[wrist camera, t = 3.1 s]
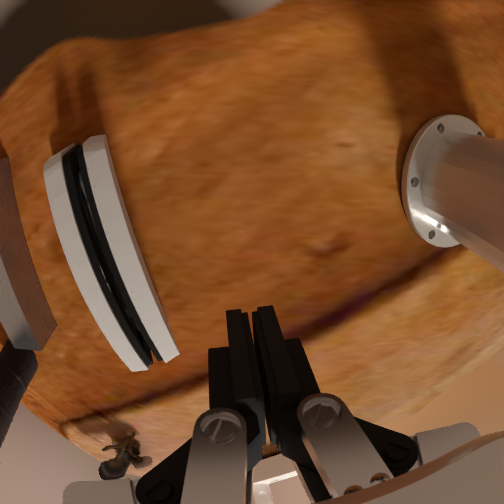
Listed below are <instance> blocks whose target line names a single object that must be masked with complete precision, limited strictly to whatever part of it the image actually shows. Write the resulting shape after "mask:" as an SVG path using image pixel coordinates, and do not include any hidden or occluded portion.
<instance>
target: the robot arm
mask: <svg viewBox="0 0 504 504" xmlns="http://www.w3.org/2000/svg"><path fill="white" fill-rule="evenodd" d="M401 188H402V200H403V206H404V210H405V213H406V216H407V219H408V221H409V223H410V224H411V226H412V228H413V229H414V231H415V232H416V233H417V234H418V235H419V236H420V237H421V238H423V239H424V240H425V241H427V242H428V243H430V244H432V245H435V246H438V247H452V246H455V245H458V244H460V243H461V244H462V245H464V246H465V247H467V248H468V249H470V250H471V251H473V252H474V253H476V254H477V255H479V256H480V257H482V258H483V259H485V260H486V261H487V262H489V263H490V264H492V265H493V266H494V267H496V268H497V269H499V270H500V271H501V272H503V273H504V140H499V139H495V138H490V137H486V136H485V134H484V132H483V131H482V130H481V129H480V128H479V126H478V125H477V124H476V123H474V122H473V121H472V120H470V119H469V118H466V117H464V116H461V115H454V114H445V115H440V116H437V117H434V118H432V119H431V120H430V121H428V122H427V123H425V124H424V125H423V126H422V128H421V129H420V130H419V131H418V132H417V134H416V135H415V137H414V139H413V140H412V142H411V144H410V146H409V149H408V151H407V154H406V157H405V161H404V165H403V170H402V181H401ZM226 319H227V330H228V341H229V347H220V348H209V349H208V367H209V405H210V410H207V411H206V412H204V413H203V414H201V415H200V416H199V418H198V419H197V420H196V423H195V425H194V430H193V436H192V438H191V439H189V440H188V441H187V442H186V443H184V444H183V445H182V446H181V447H180V448H178V449H177V450H176V451H175V452H173V453H172V454H171V455H170V456H168V457H167V458H166V459H165V460H163V461H162V462H161V463H159V464H158V465H157V466H156V467H154V468H153V469H152V470H150V471H149V472H148V473H146V474H145V475H144V476H143V477H142V478H141V479H136V480H130V479H129V478H125V479H115V480H102V481H79V482H73V483H71V484H69V485H68V486H67V487H66V488H65V490H64V492H63V504H252V494H253V468H254V467H255V466H256V465H257V463H258V462H259V461H260V460H261V459H262V446H264V445H266V431H265V418H266V423H267V428H268V433H269V438H270V442H271V444H277V447H278V451H281V452H282V455H283V456H285V457H287V458H289V459H291V460H292V463H293V466H294V468H295V470H296V472H297V474H298V476H299V479H300V481H301V483H302V485H303V487H304V489H305V491H306V493H307V496H308V497H309V500H310V502H311V504H504V431H500V432H494V433H491V434H487V435H484V436H482V437H480V434H479V432H478V430H477V428H476V427H475V426H473V425H472V424H470V423H458V424H454V425H451V426H447V427H442V428H438V429H434V430H429V431H424V432H420V433H416V434H415V435H414V436H410V437H409V436H406V435H404V434H401V433H398V432H395V431H392V430H389V429H387V428H384V427H381V426H378V425H375V424H372V423H370V422H367V421H364V420H362V419H359V418H356V417H354V416H353V415H352V413H351V412H350V410H349V409H348V407H347V406H346V404H345V403H344V402H343V401H342V400H341V399H340V398H338V397H337V396H335V395H332V394H328V393H321V392H320V390H319V387H318V385H317V382H316V379H315V377H314V374H313V372H312V369H311V367H310V364H309V361H308V359H307V356H306V354H305V351H304V349H303V346H302V343H301V341H300V339H299V338H292V339H285V340H284V338H283V335H282V332H281V329H280V326H279V323H278V320H277V317H276V314H275V311H274V308H273V306H272V305H271V306H263V307H257V311H254V312H252V322H253V336H254V344H253V339H252V334H251V329H250V323H249V318H248V313H247V312H246V313H241V309H236V310H227V311H226Z"/></svg>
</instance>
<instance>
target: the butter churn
mask: <svg viewBox="0 0 504 504" xmlns="http://www.w3.org/2000/svg"><path fill="white" fill-rule="evenodd" d="M37 367H38V363H37V361H36V356H35V354H34V353H33V351H32V350H27V349H17V348H14V346H13V344H12V343H11V341H10V339H8V340H7V341H6V343H5V345H4V347H3V348H2V350H1V352H0V448H1V445H2V443H3V441H4V439H5V436H6V434H7V432H8V429H9V426H10V424H11V422H12V421H13V417H14V415H15V413H16V410H17V409H18V405H19V403H20V400H21V398H22V397H23V394H24V393H25V391H26V389H27V387H28V385H29V383H30V381H31V380H32V378H33V376H34V374H35V372H36V371H37Z"/></svg>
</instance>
